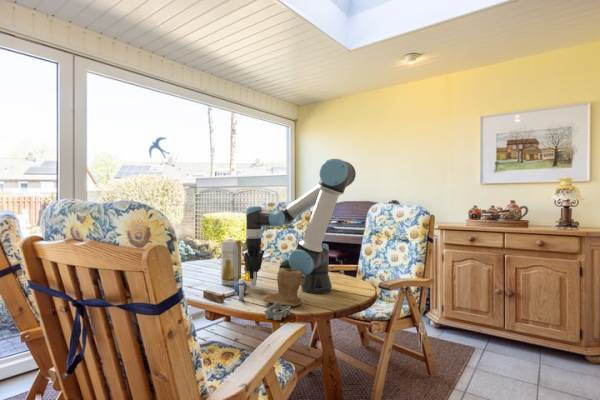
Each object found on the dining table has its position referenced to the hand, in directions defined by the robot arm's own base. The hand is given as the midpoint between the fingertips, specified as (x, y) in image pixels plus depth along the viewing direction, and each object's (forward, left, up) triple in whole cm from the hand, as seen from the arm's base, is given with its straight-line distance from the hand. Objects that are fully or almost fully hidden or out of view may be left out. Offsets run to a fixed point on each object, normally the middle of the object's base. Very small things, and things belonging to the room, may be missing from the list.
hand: (253, 285), depth 164 cm
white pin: (0, +12, -1) cm, 12 cm away
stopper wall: (0, +23, -2) cm, 24 cm away
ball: (-2, +9, +1) cm, 10 cm away
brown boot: (-27, +7, -2) cm, 28 cm away
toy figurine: (0, -30, -2) cm, 30 cm away
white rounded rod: (-10, +16, -2) cm, 19 cm away
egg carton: (-35, +19, -3) cm, 40 cm away
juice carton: (+16, +1, -2) cm, 16 cm away
